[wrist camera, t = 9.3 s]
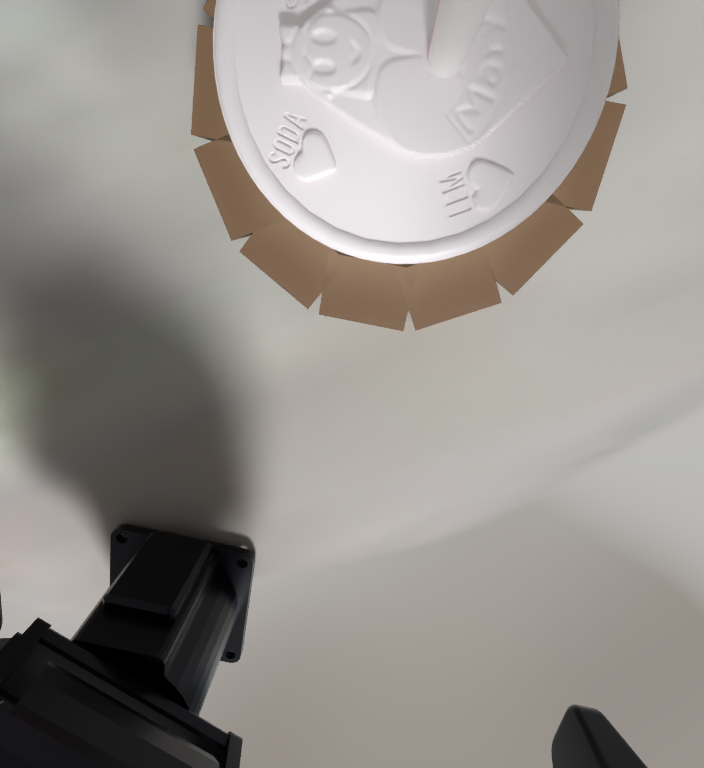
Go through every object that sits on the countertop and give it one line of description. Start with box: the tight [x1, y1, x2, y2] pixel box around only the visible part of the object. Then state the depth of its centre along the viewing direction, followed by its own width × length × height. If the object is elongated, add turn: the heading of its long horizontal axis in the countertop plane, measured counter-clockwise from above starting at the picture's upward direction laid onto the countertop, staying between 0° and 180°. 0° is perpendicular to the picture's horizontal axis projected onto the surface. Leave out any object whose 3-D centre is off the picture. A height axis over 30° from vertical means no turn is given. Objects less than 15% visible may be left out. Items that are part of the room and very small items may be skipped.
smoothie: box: [213, 0, 619, 264], centre depth 10 cm, size 6×6×14 cm
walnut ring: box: [191, 0, 627, 331], centre depth 16 cm, size 12×12×2 cm
